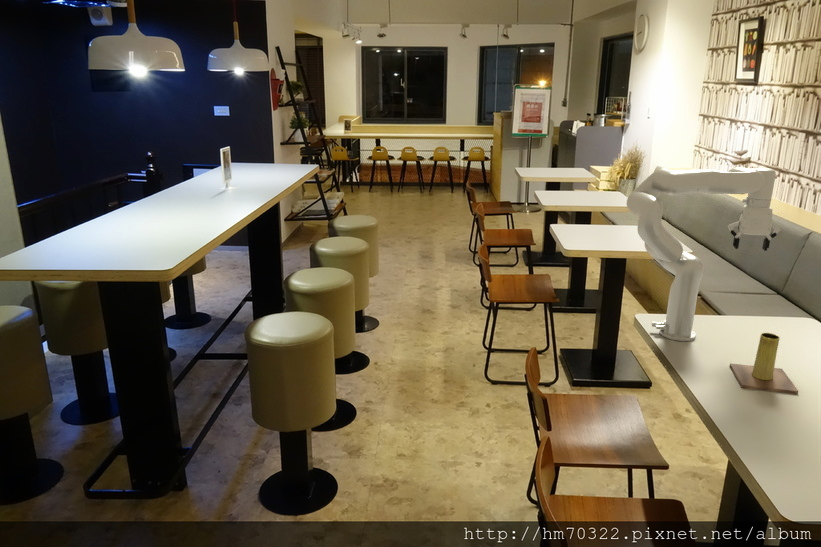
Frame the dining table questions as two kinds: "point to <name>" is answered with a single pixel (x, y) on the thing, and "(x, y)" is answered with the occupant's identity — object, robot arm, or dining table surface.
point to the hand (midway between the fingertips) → (750, 248)
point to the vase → (766, 356)
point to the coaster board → (750, 382)
